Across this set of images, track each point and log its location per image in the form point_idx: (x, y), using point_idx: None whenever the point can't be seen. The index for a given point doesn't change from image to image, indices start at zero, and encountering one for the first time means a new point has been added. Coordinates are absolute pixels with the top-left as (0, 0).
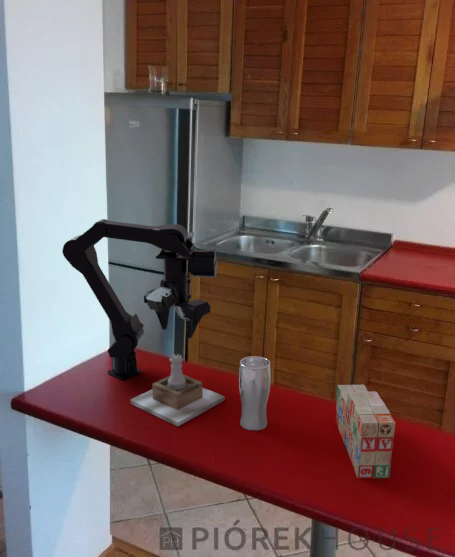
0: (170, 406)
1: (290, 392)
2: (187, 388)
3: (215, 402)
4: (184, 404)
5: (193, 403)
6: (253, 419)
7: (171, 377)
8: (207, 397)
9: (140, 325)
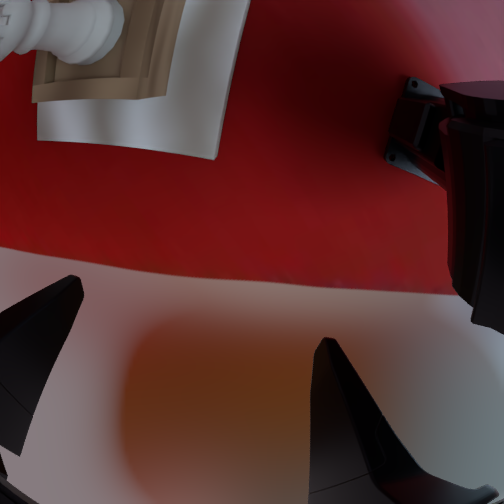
0: None
1: (11, 245)
2: None
3: (39, 102)
4: None
5: None
6: None
7: (75, 2)
8: (59, 104)
9: (496, 301)
